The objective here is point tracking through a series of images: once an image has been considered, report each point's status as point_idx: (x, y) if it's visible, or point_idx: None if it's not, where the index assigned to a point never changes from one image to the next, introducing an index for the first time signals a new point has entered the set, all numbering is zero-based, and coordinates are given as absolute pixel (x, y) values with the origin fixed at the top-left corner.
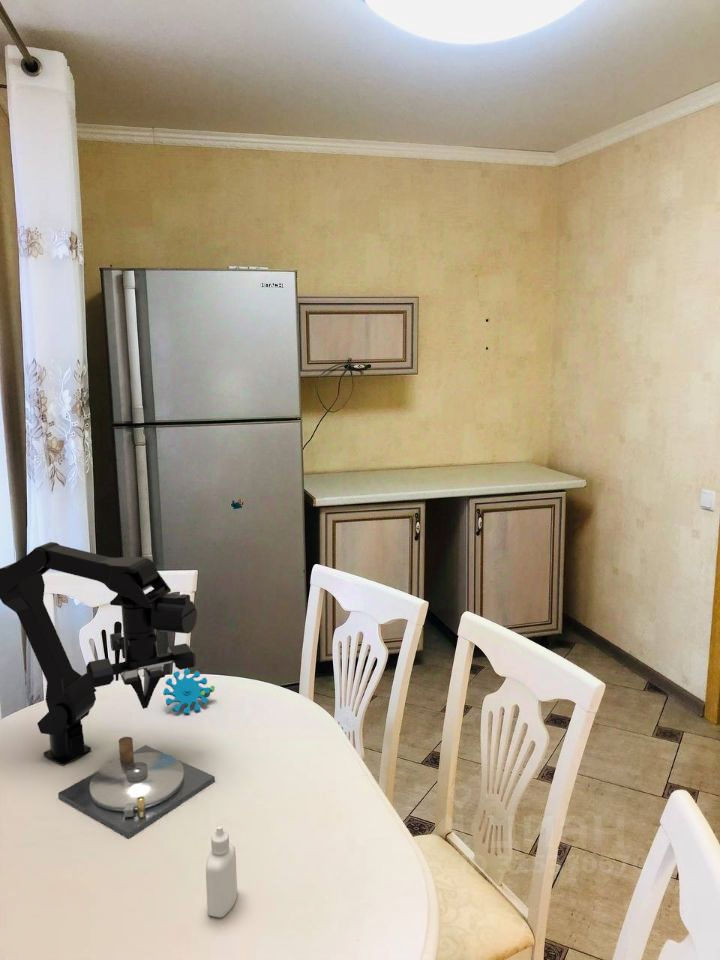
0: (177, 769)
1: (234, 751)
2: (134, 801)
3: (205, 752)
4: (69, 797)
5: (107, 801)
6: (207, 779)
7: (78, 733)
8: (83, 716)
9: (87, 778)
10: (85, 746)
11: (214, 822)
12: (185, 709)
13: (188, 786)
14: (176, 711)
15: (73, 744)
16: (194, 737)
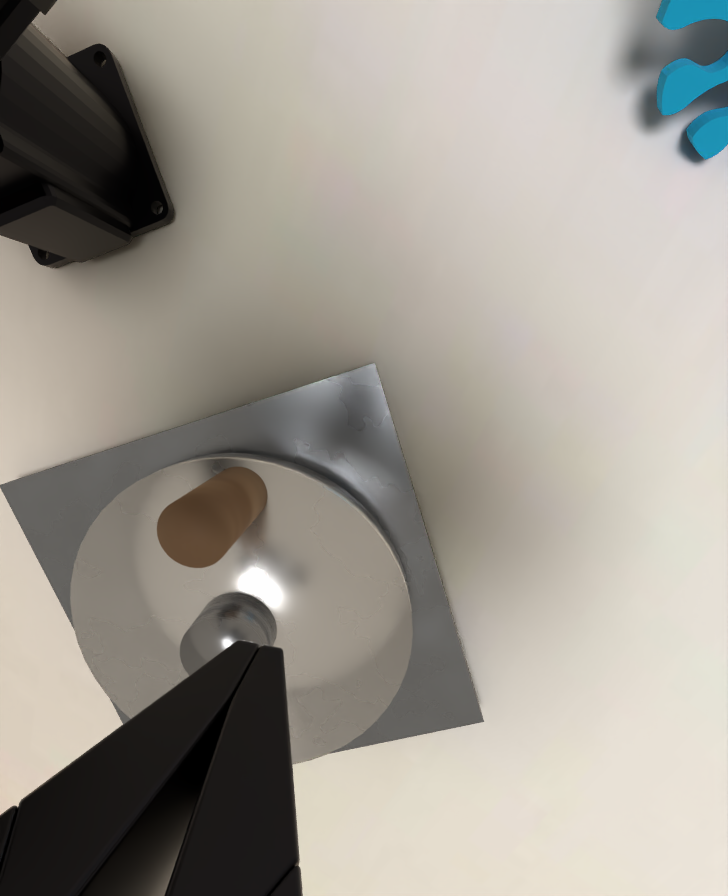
0: (381, 673)
1: (644, 596)
2: None
3: (555, 534)
4: (32, 534)
5: (111, 691)
6: (455, 722)
7: (20, 185)
8: (2, 33)
9: (104, 459)
10: (148, 176)
11: (378, 844)
12: (713, 125)
13: (386, 715)
14: (661, 112)
15: (25, 238)
16: (587, 399)
